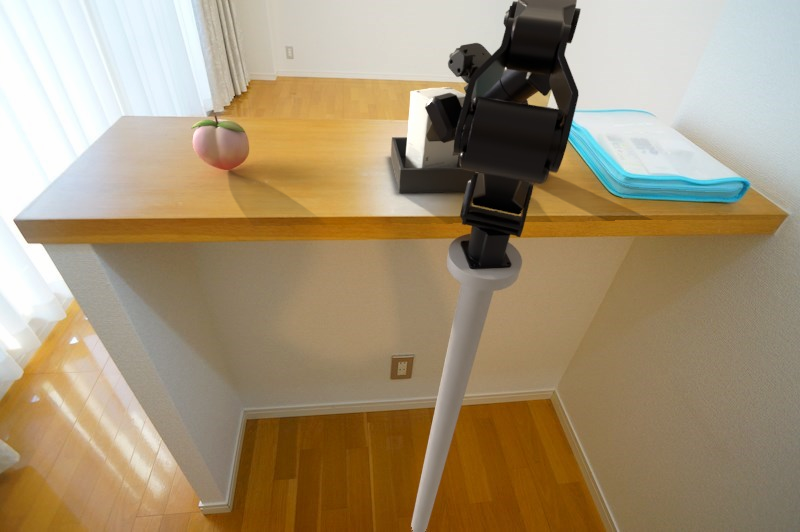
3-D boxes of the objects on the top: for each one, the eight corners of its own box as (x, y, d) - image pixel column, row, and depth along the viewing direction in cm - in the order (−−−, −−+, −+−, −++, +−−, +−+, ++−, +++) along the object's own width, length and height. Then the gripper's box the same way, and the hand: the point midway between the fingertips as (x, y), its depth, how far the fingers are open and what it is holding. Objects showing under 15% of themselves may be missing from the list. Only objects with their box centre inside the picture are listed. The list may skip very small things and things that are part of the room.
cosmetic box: (420, 185, 74) (428, 101, 64) (402, 171, 78) (408, 89, 68) (457, 176, 78) (470, 94, 68) (439, 162, 81) (449, 83, 72)
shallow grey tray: (471, 191, 74) (475, 168, 71) (399, 193, 73) (400, 169, 70) (455, 158, 84) (458, 137, 81) (390, 158, 83) (391, 137, 80)
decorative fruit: (259, 159, 79) (249, 106, 73) (250, 180, 73) (239, 125, 67) (208, 158, 79) (194, 105, 72) (195, 179, 72) (178, 123, 66)
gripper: (531, 21, 61) (465, 79, 75) (442, 33, 52) (384, 98, 65) (561, 91, 62) (490, 136, 75) (479, 116, 52) (414, 163, 66)
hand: (447, 132), depth 70 cm, fingers open, 9 cm apart
